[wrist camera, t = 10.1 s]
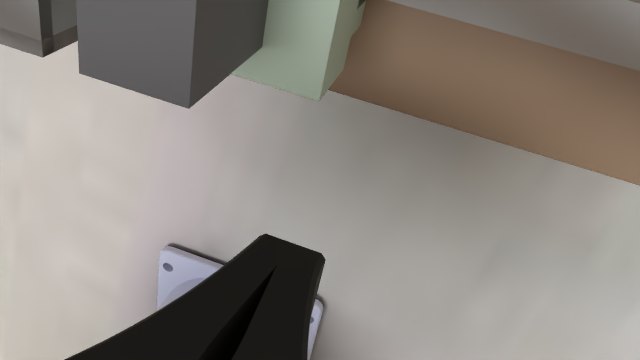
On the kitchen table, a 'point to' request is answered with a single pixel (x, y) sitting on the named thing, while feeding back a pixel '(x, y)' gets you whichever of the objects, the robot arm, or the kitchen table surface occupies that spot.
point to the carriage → (215, 44)
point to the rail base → (469, 69)
